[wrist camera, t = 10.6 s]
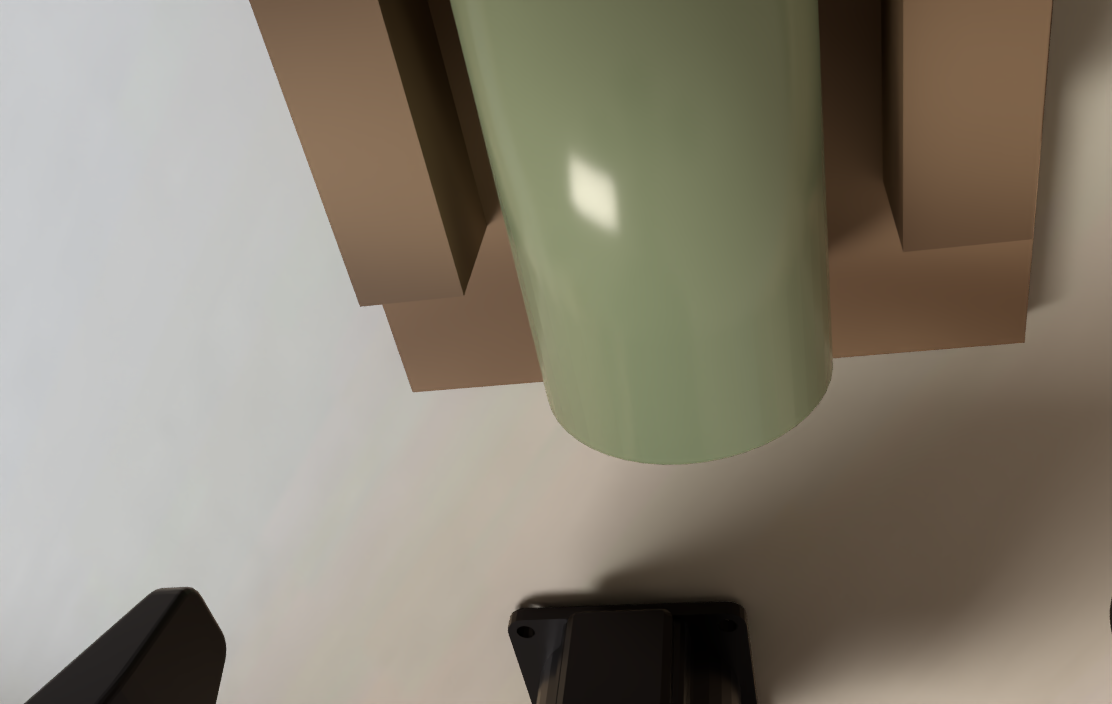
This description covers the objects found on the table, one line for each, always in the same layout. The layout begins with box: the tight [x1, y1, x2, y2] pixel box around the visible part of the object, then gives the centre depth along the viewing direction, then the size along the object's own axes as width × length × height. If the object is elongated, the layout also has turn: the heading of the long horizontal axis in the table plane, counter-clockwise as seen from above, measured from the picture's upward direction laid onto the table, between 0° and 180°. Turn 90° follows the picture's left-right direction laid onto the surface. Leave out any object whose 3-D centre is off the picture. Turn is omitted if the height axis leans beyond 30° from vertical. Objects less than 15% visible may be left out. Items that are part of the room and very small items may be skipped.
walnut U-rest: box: [249, 0, 1053, 392], centre depth 17 cm, size 16×13×3 cm
